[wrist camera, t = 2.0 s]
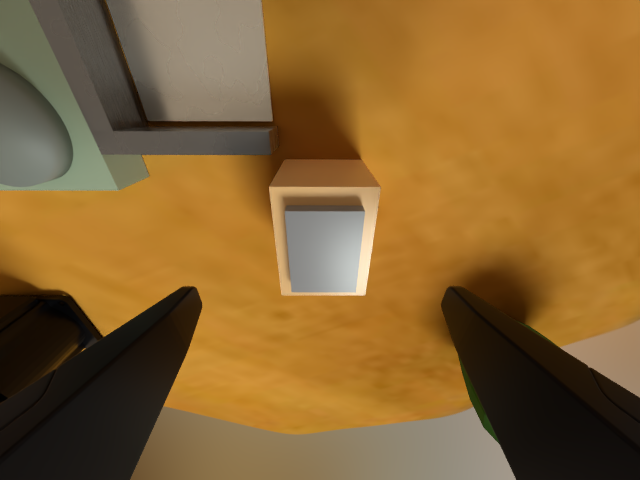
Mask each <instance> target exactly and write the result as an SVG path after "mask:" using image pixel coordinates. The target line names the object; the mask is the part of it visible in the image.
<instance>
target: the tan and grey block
mask: <svg viewBox="0 0 640 480" xmlns="http://www.w3.org/2000/svg"><path fill="white" fill-rule="evenodd" d="M380 189H381V187H380V185H379V184H378V182H377V181H376V179H375V178H374V176H373V175H372V174H371V172H370V171H369V169H368V168H367V166H366V165H365V164H364V162H363V161H362V160H351V159H285V160H284V161H283V163H282V165H281V167H280V168H279V170H278V172H277V174H276V175H275V177H274V179H273V181H272V182H271V184H270V186H269V192H270V201H271V209H272V218H273V226H274V235H275V243H276V252H277V260H278V269H279V278H280V286H281V295H365V293H366V286H367V279H368V272H369V265H370V258H371V251H372V244H373V238H374V231H375V224H376V217H377V210H378V203H379V196H380Z"/></svg>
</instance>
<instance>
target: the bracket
mask: <svg viewBox="0 0 640 480" xmlns="http://www.w3.org/2000/svg"><path fill="white" fill-rule="evenodd" d="M29 2H30V4H31V6H32V9H33V11H34V13H35V15H36V17H37V19H38V21H39V23H40V25H41V28H42V30H43V32H44V34H45V36H46V38H47V40H48V42H49V44H50V47H51V49H52V51H53V53H54V55H55V57H56V59H57V61H58V63H59V66H60V68H61V70H62V72H63V74H64V76H65V78H66V80H67V82H68V85H69V87H70V89H71V91H72V93H73V95H74V97H75V99H76V102H77V104H78V106H79V108H80V110H81V112H82V114H83V116H84V118H85V121H86V123H87V125H88V127H89V129H90V131H91V133H92V135H93V137H94V140H95V142H96V144H97V146H98V148H99V150H100V152H101V154H102V155H271V154H272V153H273V152H274V151H275V150H276V149H277V148H278V147H279V139H278V127H277V126H148V123H147V121H146V118H145V115H144V112H143V109H142V106H143V108H144V111H145V114H146V117H147V120H148V121H273V113H272V102H271V91H270V81H269V70H268V59H267V49H266V38H265V27H264V16H263V6H262V0H106V2H107V5H108V8H109V10H110V13H111V16H112V19H113V22H114V25H115V28H116V31H117V34H118V36H119V39H120V42H121V45H122V48H123V51H124V54H125V57H126V59H127V62H128V65H129V68H130V71H131V74H132V77H133V80H134V82H135V85H136V88H137V91H138V94H139V97H140V100H141V103H142V106H141V103H140V101H139V98H138V95H137V92H136V89H135V86H134V83H133V81H132V78H131V75H130V72H129V69H128V66H127V63H126V61H125V58H124V55H123V52H122V49H121V46H120V43H119V41H118V38H117V35H116V32H115V29H114V26H113V23H112V21H111V18H110V15H109V12H108V9H107V6H106V3H105V1H104V0H29Z"/></svg>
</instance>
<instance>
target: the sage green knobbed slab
mask: <svg viewBox="0 0 640 480" xmlns="http://www.w3.org/2000/svg"><path fill="white" fill-rule="evenodd" d="M147 177H149V174H148V171H147V169H146V166H145V164H144V161H143V158H142V156H141V155H102V154H101V152H100V150H99V148H98V146H97V144H96V142H95V140H94V137H93V135H92V133H91V131H90V129H89V127H88V125H87V123H86V121H85V118H84V116H83V114H82V112H81V110H80V108H79V106H78V104H77V102H76V99H75V97H74V95H73V93H72V91H71V89H70V87H69V85H68V82H67V80H66V78H65V76H64V74H63V72H62V70H61V68H60V66H59V63H58V61H57V59H56V57H55V55H54V53H53V51H52V49H51V47H50V44H49V42H48V40H47V38H46V36H45V34H44V32H43V30H42V28H41V25H40V23H39V21H38V19H37V17H36V15H35V13H34V11H33V9H32V6H31V4H30V2H29V0H0V190H121V189H123V188H125V187H127V186H129V185H132V184H134V183H136V182H138V181H141V180H143V179H145V178H147Z"/></svg>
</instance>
